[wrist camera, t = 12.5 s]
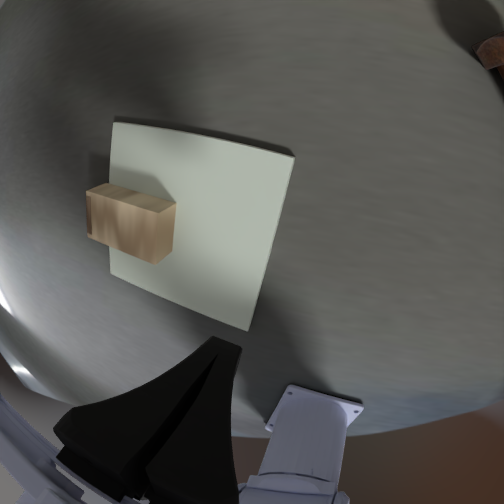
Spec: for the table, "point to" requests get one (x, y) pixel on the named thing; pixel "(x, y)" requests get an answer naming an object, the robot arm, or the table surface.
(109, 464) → the robot arm
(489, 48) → the bolt
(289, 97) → the table surface
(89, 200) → the slab
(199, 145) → the board
